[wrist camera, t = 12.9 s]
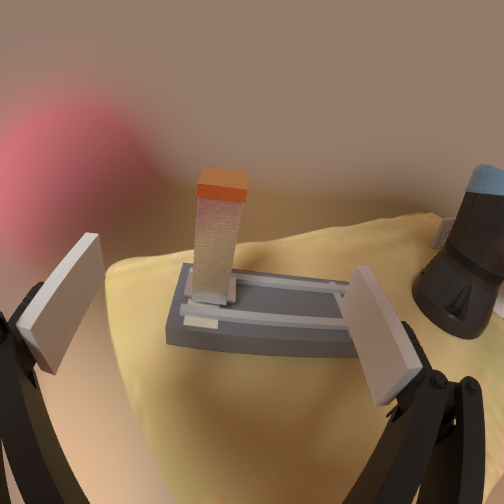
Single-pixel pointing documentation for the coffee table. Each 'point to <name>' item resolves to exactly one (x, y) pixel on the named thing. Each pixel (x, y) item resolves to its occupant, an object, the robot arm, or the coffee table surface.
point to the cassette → (443, 232)
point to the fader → (216, 235)
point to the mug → (500, 302)
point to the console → (265, 317)
